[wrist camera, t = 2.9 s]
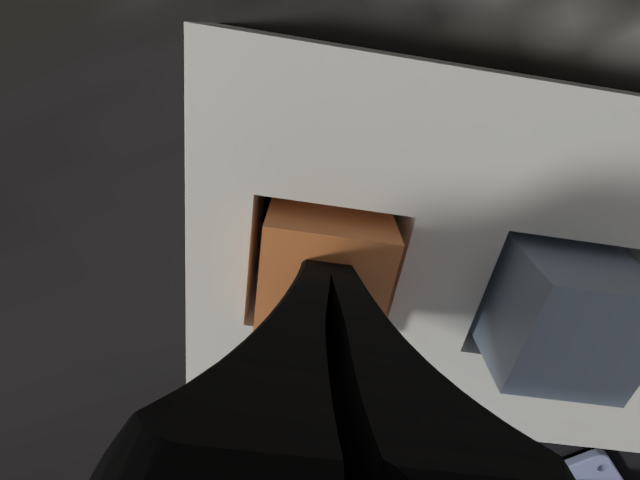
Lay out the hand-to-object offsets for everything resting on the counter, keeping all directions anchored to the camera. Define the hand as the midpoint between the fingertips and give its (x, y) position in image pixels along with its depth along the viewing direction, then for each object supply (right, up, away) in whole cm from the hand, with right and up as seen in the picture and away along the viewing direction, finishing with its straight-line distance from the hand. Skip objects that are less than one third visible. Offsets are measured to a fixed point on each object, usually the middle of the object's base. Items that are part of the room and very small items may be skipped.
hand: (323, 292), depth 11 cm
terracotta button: (0, +1, +3) cm, 3 cm away
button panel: (+7, +1, +4) cm, 8 cm away
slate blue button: (+7, 0, +2) cm, 7 cm away
